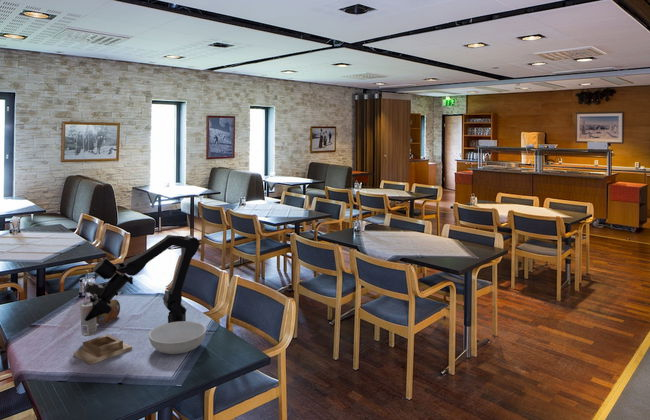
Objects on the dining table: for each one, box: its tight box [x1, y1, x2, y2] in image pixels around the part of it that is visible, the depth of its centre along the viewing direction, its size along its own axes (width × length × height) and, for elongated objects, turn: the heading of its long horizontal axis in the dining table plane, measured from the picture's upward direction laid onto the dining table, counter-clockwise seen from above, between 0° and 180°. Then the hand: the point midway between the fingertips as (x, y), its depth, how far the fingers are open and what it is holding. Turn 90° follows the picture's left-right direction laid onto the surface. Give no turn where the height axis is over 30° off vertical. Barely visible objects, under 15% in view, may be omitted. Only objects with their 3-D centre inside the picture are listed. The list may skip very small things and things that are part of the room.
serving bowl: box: [148, 320, 207, 355], centre depth 186 cm, size 21×21×7 cm
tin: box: [96, 299, 121, 326], centre depth 212 cm, size 15×3×8 cm, turn 168°
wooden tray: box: [73, 333, 133, 365], centre depth 181 cm, size 16×12×4 cm
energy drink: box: [79, 301, 98, 337], centre depth 189 cm, size 5×5×12 cm
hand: (84, 318), depth 189 cm, fingers closed on energy drink, 5 cm apart
